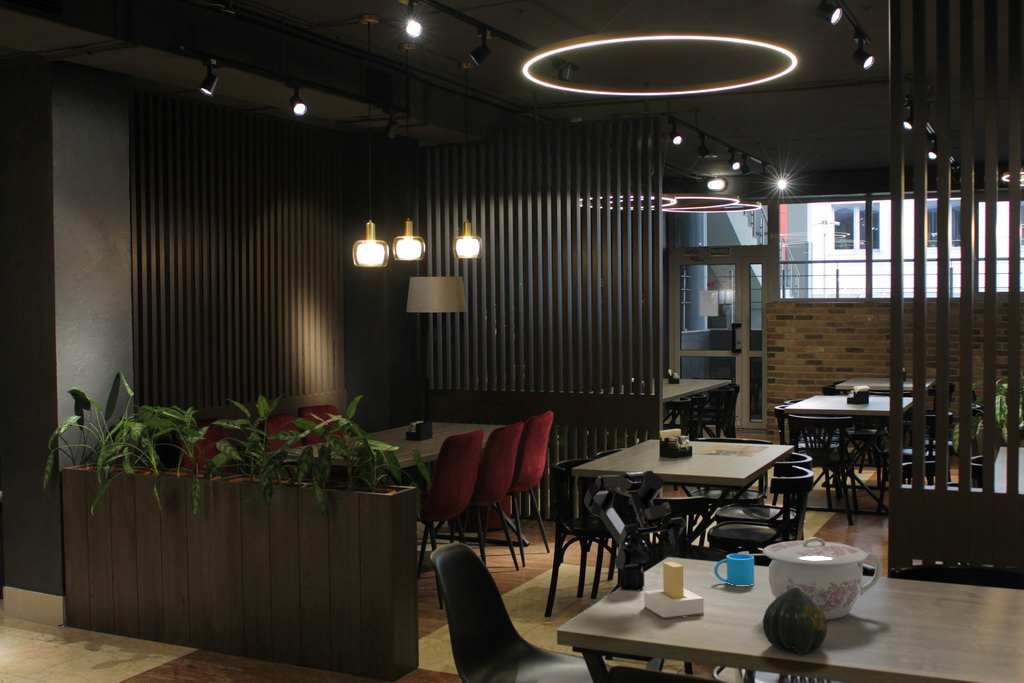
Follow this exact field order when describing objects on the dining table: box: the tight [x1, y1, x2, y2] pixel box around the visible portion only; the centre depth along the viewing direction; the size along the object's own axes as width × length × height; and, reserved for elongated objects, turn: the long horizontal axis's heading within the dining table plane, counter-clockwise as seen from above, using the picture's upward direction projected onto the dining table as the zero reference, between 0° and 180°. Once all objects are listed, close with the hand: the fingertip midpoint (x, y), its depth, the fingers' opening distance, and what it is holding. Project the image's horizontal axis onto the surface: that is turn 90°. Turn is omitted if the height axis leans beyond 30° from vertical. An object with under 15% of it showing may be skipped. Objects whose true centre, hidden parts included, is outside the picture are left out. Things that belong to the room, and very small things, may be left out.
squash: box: [762, 587, 828, 655], centre depth 244 cm, size 14×15×15 cm
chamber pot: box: [762, 536, 883, 621], centre depth 272 cm, size 28×28×21 cm
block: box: [662, 560, 684, 599], centre depth 277 cm, size 6×3×12 cm, turn 19°
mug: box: [714, 553, 755, 585], centre depth 306 cm, size 12×8×8 cm
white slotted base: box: [643, 587, 705, 620], centre depth 277 cm, size 12×12×4 cm
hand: (663, 555), depth 285 cm, fingers open, 9 cm apart
